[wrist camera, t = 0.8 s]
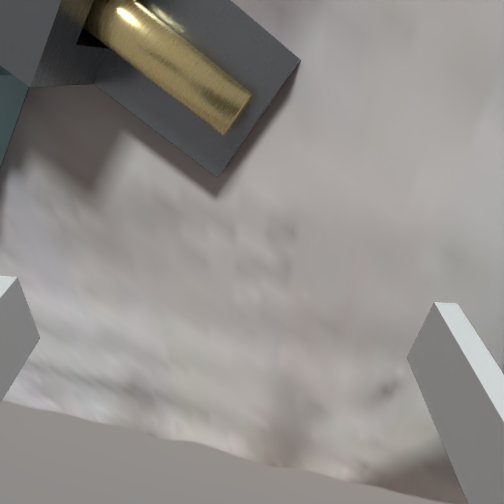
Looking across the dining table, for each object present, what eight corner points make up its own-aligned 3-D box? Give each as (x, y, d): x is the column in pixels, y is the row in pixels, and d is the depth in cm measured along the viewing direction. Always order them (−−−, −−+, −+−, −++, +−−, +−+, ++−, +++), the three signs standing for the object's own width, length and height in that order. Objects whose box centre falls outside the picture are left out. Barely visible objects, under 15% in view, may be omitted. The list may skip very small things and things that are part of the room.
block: (301, 60, 23) (292, 55, 16) (223, 170, 27) (190, 205, 20) (38, -163, 21) (-108, -284, 14) (-5, -5, 25) (-136, -35, 18)
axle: (256, 92, 23) (247, 95, 20) (229, 132, 24) (218, 140, 22) (-4, -119, 20) (-53, -147, 18) (-18, -61, 22) (-65, -80, 19)
